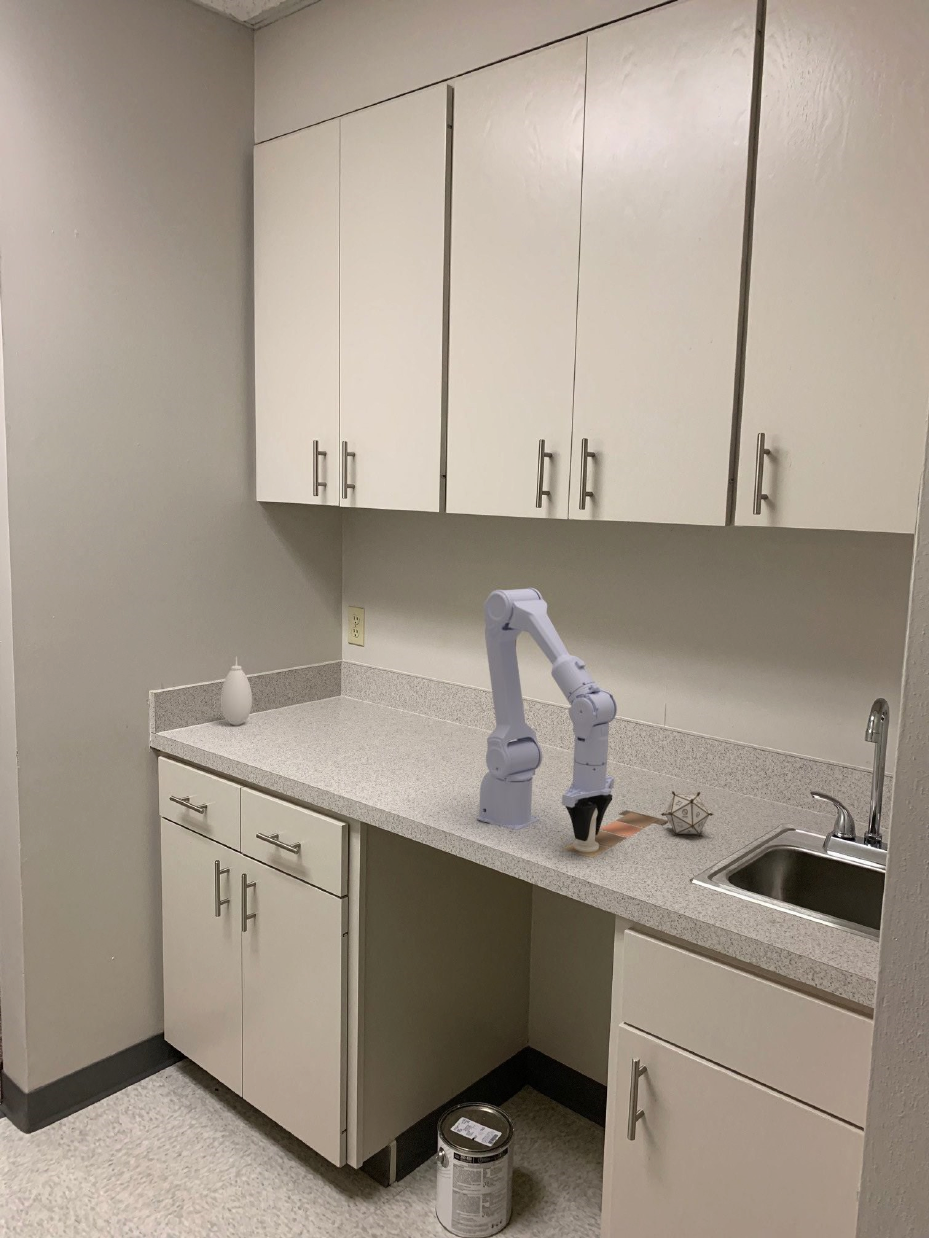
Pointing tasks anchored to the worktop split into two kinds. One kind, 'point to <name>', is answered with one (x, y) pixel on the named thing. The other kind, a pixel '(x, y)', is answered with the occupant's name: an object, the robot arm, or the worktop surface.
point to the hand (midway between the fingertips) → (586, 836)
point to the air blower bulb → (236, 696)
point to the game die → (687, 814)
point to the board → (620, 830)
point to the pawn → (590, 844)
